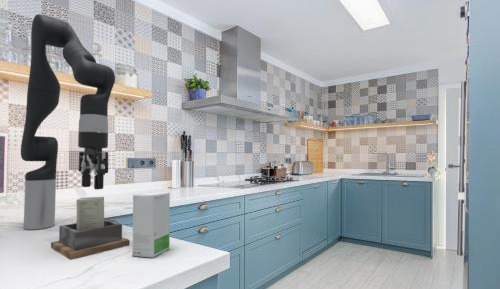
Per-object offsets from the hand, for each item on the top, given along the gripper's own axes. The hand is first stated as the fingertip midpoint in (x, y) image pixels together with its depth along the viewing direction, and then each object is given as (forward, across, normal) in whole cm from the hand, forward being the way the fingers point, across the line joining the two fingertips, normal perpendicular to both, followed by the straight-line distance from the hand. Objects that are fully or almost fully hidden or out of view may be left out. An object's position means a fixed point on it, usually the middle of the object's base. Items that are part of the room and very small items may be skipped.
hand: (92, 188), depth 82 cm
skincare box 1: (+15, 0, 0) cm, 15 cm away
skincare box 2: (+16, +18, +8) cm, 26 cm away
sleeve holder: (+16, 0, 0) cm, 16 cm away
